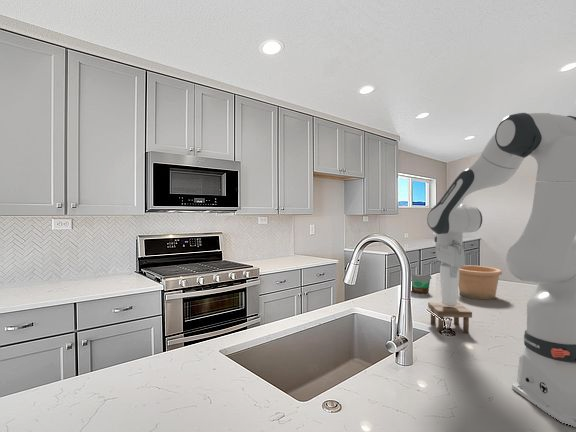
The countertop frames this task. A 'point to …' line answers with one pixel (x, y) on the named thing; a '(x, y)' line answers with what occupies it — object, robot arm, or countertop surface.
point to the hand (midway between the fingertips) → (449, 275)
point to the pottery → (478, 281)
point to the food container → (420, 284)
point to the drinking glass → (449, 285)
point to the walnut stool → (450, 314)
